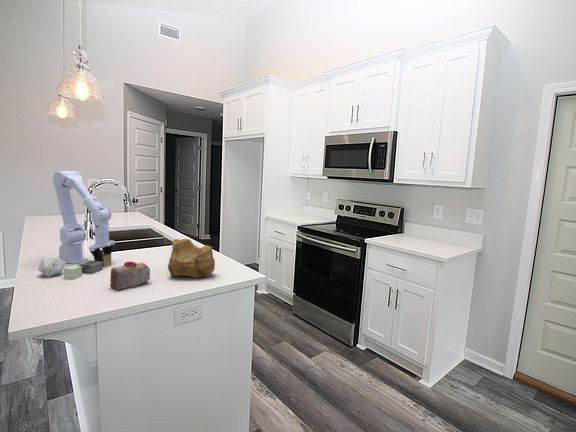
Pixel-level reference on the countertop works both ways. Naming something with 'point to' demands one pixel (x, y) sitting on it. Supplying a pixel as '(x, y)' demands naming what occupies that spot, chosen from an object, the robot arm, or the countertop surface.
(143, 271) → the food item
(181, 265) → the rough brown rock
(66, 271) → the sage cube
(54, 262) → the pale gray rock
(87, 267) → the charcoal base block
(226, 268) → the countertop surface
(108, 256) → the walnut cube
